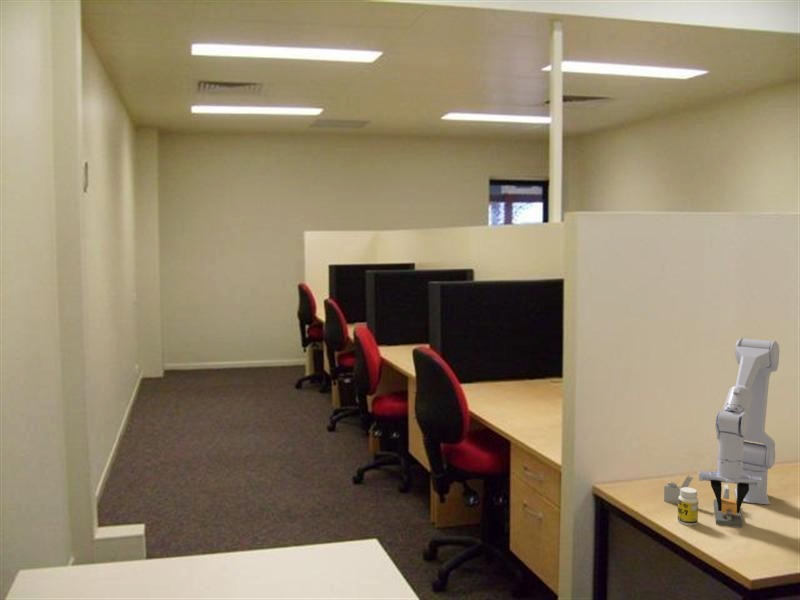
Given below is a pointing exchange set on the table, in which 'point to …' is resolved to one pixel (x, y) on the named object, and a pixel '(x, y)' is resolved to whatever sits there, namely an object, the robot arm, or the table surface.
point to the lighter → (674, 490)
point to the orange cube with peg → (728, 506)
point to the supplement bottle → (688, 506)
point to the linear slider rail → (726, 518)
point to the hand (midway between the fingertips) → (728, 510)
